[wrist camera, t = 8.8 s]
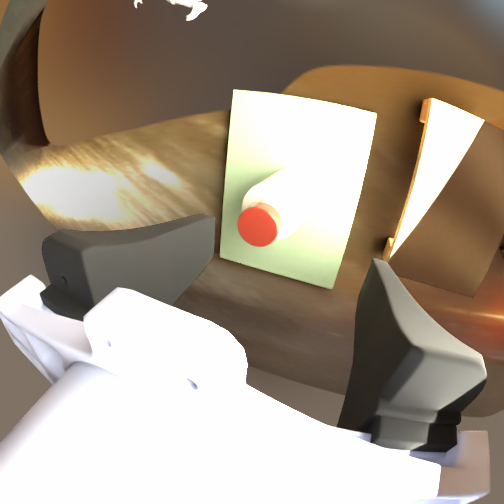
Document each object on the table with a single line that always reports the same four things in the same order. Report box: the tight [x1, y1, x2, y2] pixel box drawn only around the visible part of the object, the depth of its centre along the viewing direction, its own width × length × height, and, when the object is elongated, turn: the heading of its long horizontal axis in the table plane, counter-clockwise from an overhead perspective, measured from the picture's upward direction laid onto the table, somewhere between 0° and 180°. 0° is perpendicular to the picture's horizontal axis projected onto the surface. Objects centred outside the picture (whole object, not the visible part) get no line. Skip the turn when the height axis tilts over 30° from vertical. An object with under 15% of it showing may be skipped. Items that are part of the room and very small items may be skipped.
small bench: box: [382, 98, 504, 298], centre depth 15 cm, size 12×8×2 cm, turn 174°
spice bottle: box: [238, 168, 312, 247], centre depth 17 cm, size 4×4×7 cm
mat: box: [220, 90, 377, 289], centre depth 20 cm, size 14×10×1 cm
